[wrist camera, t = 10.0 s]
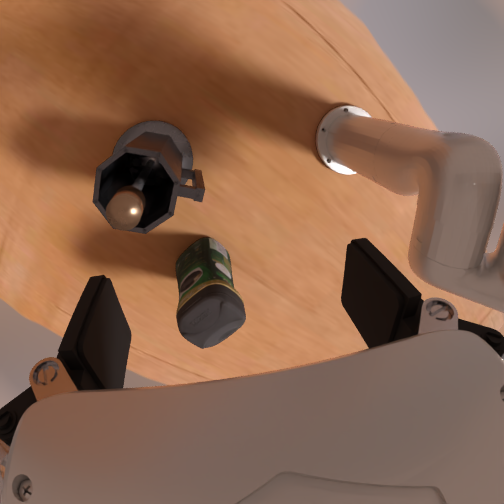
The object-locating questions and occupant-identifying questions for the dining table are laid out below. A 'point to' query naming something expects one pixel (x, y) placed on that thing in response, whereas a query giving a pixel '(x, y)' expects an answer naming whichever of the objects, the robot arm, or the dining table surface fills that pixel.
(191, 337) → the coffee jar
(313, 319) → the dining table surface
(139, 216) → the plunger
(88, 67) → the dining table surface
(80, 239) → the dining table surface
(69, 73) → the dining table surface
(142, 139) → the press carafe
